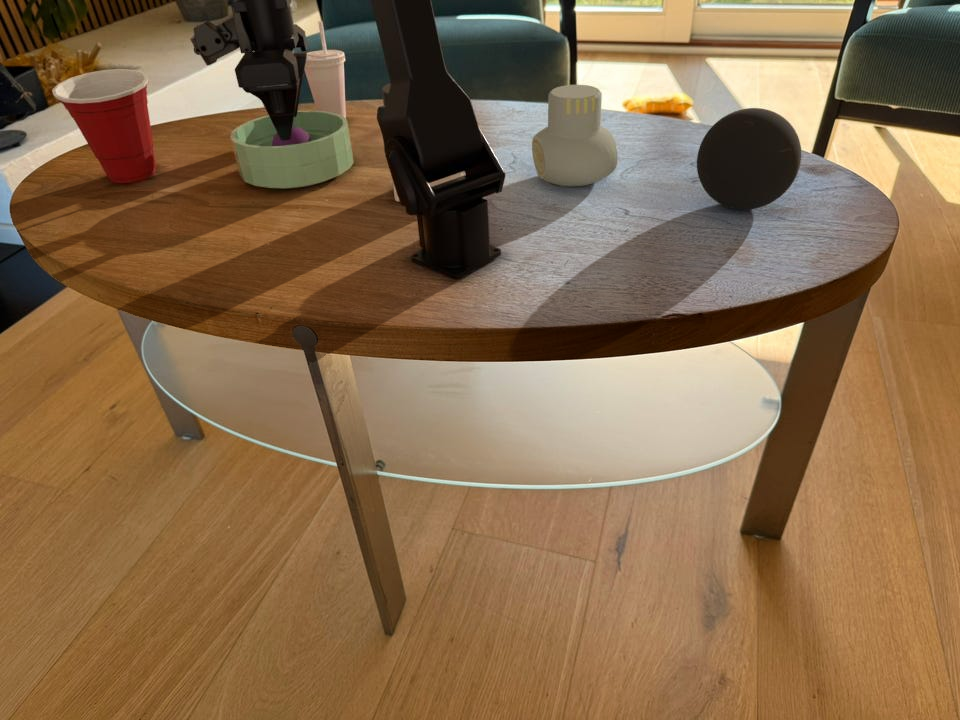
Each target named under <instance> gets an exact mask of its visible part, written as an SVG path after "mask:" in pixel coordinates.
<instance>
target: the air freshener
mask: <svg viewBox="0 0 960 720" xmlns="http://www.w3.org/2000/svg"><path fill="white" fill-rule="evenodd" d="M547 95H548V96H547V97H548V98H547V100H548V102H547V104H548V105H547V107H548V109H547V126H546V127H544V128H542V129H540V130H539V131H538V132H537V133H535V135H534V136H533V138H532V141H531V154H532V160H533V164H534V168H535V171H536V174H537V175H538V176H539V178H540V179H541V180H543V181H545V182H548V183H549V184H552V185H555V186H559V187H570V188H571V187H574V188H575V187H576V188H577V187H585V186H589V185H592V184H596V183H599V182H601V181H602V180H604V179H605V178H607V177H609V176H610V175H611V174H612V173H613V172H614V171H615V170H616V169H617V166H618V160H619V159H618V156H619V155H618V148H617V144H616V141H615V138H614V136H613V134H612V133H611V131H610V130H609V129H608V128H606V127H604V126H603V125H602V99H603V94H602V91H601V90H600V88H597V87H596V86H593V85H587V84H567V85H560V86H557V87H555V88H553V89H552V90H550V92H549V93H548V94H547Z"/></svg>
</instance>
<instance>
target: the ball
mask: <svg viewBox="0 0 960 720" xmlns="http://www.w3.org/2000/svg"><path fill="white" fill-rule="evenodd" d="M309 141H312V140H311V138H310V136H309V135H308V134H307V133H306V132H305V131H304V130H302V129H301V128H298V127H295V126H292V133H291V138H290V140H284V141H282V140H281V139H280V137H279V135H278V133H276V134H275V136H274V138H273V141H272V146H285V145H293V144H300V143H305V142H309Z"/></svg>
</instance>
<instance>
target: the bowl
mask: <svg viewBox="0 0 960 720" xmlns="http://www.w3.org/2000/svg"><path fill="white" fill-rule="evenodd" d="M293 126H295V127H298V128H301V129H302V130H304V131H305V132H306V133H307V134H308V135H309V136H310V138H311V140H312V141H309V142H305V143H300V144H293V145H285V146H272V141H273V138H274V136H275V134H276V133H277V131H276V129H275V127H274V125H273V123H272V121H271V119H270V117H269V115H268V114H267V115H263V116H260V117H257V118H254V119H251V120H248V121H246V122H244V123H242V124H240V125H238V126H237V127H235V128H234V129H233V130H232V131H231V134H230V136H229V139H230V143H231V147H232V150H233V154H234V158H235V161H236V165H237V170H238V174H239V177H240V178H241V179H242V180H243V182H244V183H247V184H249V185H252V186H254V187H260V188H267V189H297V188H304V187H310V186H314V185H317V184H322V183H324V182H327V181H329V180H331V179H335V178H336V177H337V178H338V177H339V176H341V175H342V174H344V173H346V172H347V171H349V170H350V169H351V168H352V166H353V165H354V163H355V161H354V154H353V147H352V142H351V136H350V130H349V122H348V119H347V117H346V118H345V117H343V116H342V115H339V114H336V113H332V112H326V111H317V110H298V111H297V116H296V117H294V120H293Z"/></svg>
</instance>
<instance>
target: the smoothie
mask: <svg viewBox="0 0 960 720" xmlns="http://www.w3.org/2000/svg"><path fill="white" fill-rule="evenodd" d="M317 24H318V29H319V35H320V41H321V47H322V48H321V50H320V49H319V50H314V51H309V52H307V58H306V64H305V70H304V74H305V76H306V79H307V82H308V86H309V89H310V93H311V95H312V100H313V102H314V106H315V109H316V111H326V112H332V113H336V114H339V115H342V116H343V117H345V118H346V119H347V113H346V111H347V110H346V88H345V87H346V85H345V62H346V55H345V52H344V51H342V50H339V49H327V42H326V37H325V30H324V24H323V21H322V20H319V21H317Z"/></svg>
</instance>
